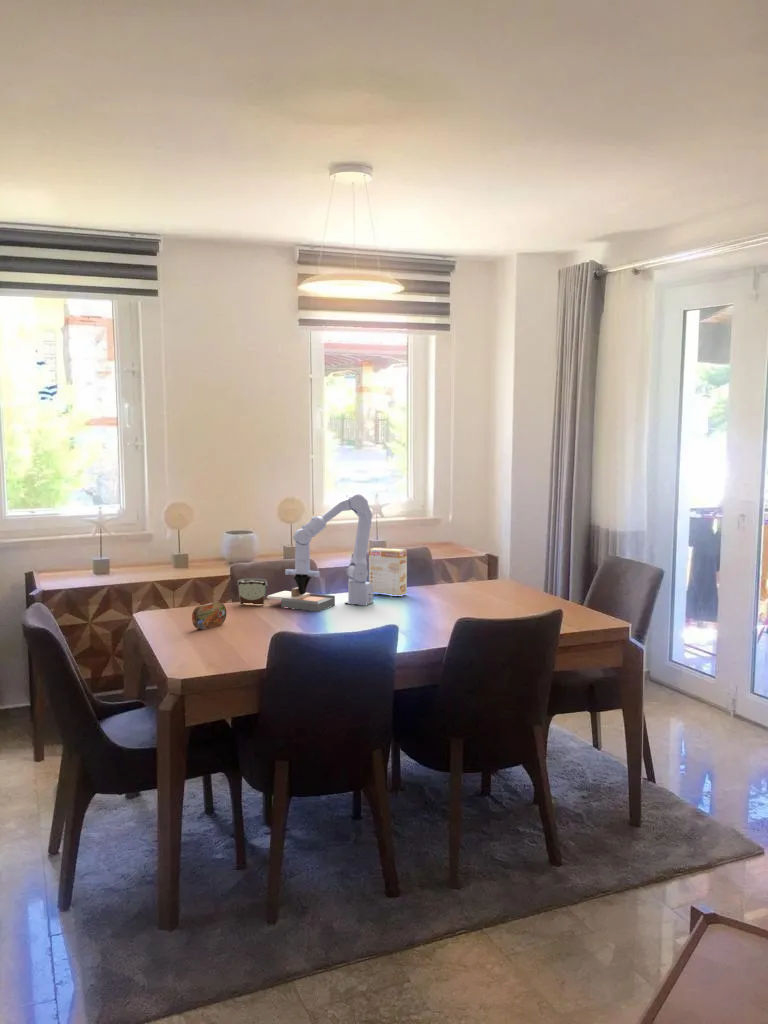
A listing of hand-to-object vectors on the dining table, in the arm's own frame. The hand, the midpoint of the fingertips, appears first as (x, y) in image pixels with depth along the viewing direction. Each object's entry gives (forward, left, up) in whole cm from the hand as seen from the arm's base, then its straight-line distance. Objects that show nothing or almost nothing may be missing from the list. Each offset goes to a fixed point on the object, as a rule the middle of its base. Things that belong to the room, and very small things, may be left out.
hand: (302, 593), depth 340 cm
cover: (+6, 0, -2) cm, 7 cm away
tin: (+10, +47, -5) cm, 48 cm away
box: (-3, 0, -5) cm, 6 cm away
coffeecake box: (-20, -38, -5) cm, 43 cm away
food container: (+19, +5, -5) cm, 21 cm away
